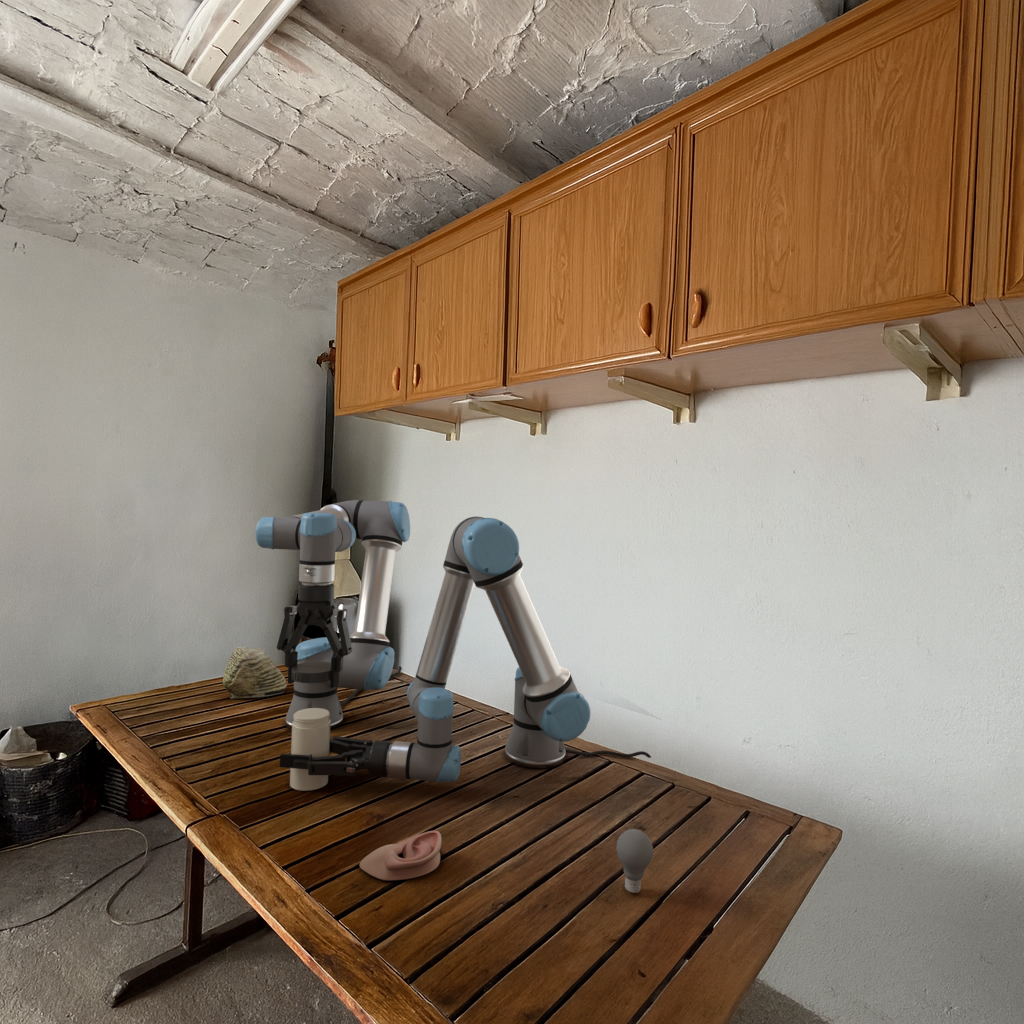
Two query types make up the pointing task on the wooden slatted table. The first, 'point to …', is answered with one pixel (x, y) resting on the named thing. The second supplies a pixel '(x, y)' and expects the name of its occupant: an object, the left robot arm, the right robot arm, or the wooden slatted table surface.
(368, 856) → the anatomical model
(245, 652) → the fossil
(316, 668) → the lid
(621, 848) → the light bulb
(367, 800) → the wooden slatted table surface
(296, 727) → the jar
